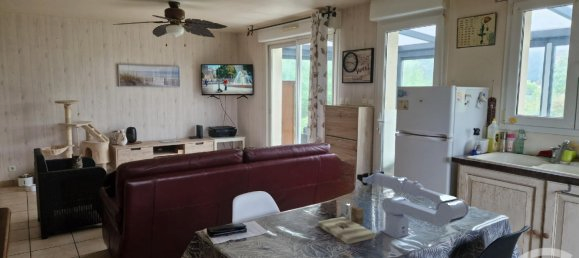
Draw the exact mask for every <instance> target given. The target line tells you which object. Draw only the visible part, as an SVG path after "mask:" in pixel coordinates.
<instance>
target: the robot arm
mask: <svg viewBox="0 0 579 258" xmlns="http://www.w3.org/2000/svg"><path fill="white" fill-rule="evenodd" d="M356 175H357V176H356V179H357V180H358V181H359V182H361V183H362V185H363V186H368V184H369V185H372V186H375V187H380V188H385V189H389V190H392V191H393V192H394V193H396V194H399V193H403V194H405V195H408V196H410V197H413V198H416V199H419V198H423V199H425V200H428V201H430V202H433V203H434V204H435V210H434V209H431V208H428V207H425V206H423V205H420V204H416V203H413V202H411V200H410V199H407V198H406V197H405V196H403V195H398V196H392V197H385V198H383V200H382V201H381V207H382V210H383V212H384V213H385V214H384V215H385V218H384V219H385V221H384V223H385V224H384V228H381V229H380V231H381V232H382V233H384V234H386V235H388V236H391V237H393V238H395V239H398V238H402V237H406V236H410V233H409V223H410V222H409V218H408V217H411V218H414V219H415V220H416V219H417V220H419V221H421V222H423V223H424V222H425V223H428V224H431V225H433V226H436V227H439V228H441V227H444V226H448V225H450V224H453V223H455V222H458V221H461V220H463V219H464V218H466V216H467V215H468V214H469V209H470V208H469V204H468V203H467V202H466V201H465V200H463V199H459V198H458V197H455V196H453V195H449V194H445V193H442V192H441V193H440V192H437V191H434V190H432V189H431V190H430V189H427V188H425V187H424V186H423V184H422V183H419V181H418V180H415V181H413V180H410V179H409V178H407V176H401V177H398V176H395V175H391V174H386V173H385V172H384V171H380V170H378V169H377V170H375V172H370V173H369V172H365V173H362V174H361V173H360V174H359V173H358V174H356ZM407 216H408V217H407Z"/></svg>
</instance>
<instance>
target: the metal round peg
mask: <svg viewBox="0 0 579 258" xmlns="http://www.w3.org/2000/svg"><path fill="white" fill-rule="evenodd" d="M338 212H339V215H338V216H339V217H345V218H347V219H349V220H351V203H350V202H349V201H340V202H339V211H338ZM339 217H338V218H339Z"/></svg>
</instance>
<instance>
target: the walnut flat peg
mask: <svg viewBox="0 0 579 258" xmlns="http://www.w3.org/2000/svg"><path fill="white" fill-rule="evenodd" d="M350 220H351V221H353V222H355V223H357V224H359V225H361V226H362V225H363V224H364V208H362V207H360V206H357V205H356V206H350Z"/></svg>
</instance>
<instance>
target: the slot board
mask: <svg viewBox="0 0 579 258" xmlns="http://www.w3.org/2000/svg"><path fill="white" fill-rule="evenodd" d="M317 226H318V227H319V228H320V229H322V230H324V231H326V232H327V233H329V234H331V235H333V236H334V237H335V238H337V239H339V240H341V241H342V242H344V243H345V244H347V245H349V244H350V245H351V244H353V243H354V244H355V243H357V242H359V243H360V242H361V241H362V242H363V241H367V240H371V239H375V238H376V232H374V231H373V230H371V229H368V228H366V227H365V226H362V224H361V225H359V224H357V223H355V222H353V221H351V219H347V218H345V217H335V218H329V219H324V220H319V221H317Z"/></svg>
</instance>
